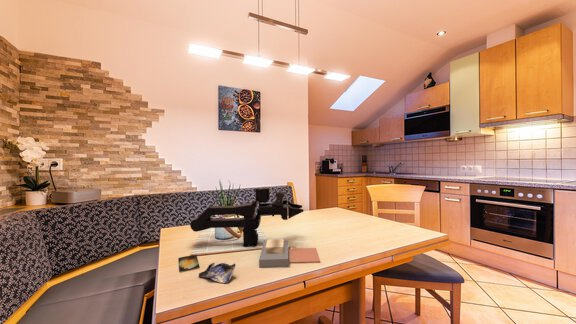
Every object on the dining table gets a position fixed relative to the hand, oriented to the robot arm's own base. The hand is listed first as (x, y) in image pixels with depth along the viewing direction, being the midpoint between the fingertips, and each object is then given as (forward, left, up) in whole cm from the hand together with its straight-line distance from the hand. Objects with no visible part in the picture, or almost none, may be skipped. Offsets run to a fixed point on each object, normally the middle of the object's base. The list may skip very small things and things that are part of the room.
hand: (302, 208), depth 114 cm
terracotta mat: (-1, -15, -16) cm, 22 cm away
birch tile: (-13, -15, -13) cm, 24 cm away
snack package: (-32, -31, -17) cm, 48 cm away
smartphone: (-47, -19, -17) cm, 54 cm away
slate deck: (-13, -15, -16) cm, 26 cm away
